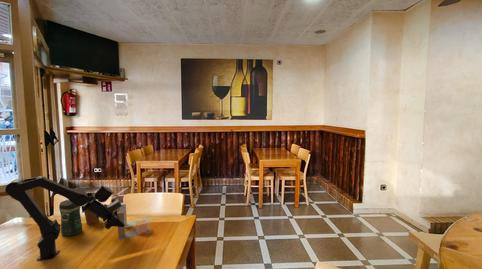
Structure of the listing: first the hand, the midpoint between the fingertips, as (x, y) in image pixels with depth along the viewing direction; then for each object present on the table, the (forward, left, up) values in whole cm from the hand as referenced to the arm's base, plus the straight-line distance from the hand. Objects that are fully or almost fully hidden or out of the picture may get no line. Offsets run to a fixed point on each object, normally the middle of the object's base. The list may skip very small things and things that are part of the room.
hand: (123, 224), depth 129 cm
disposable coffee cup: (+23, +24, -7) cm, 34 cm away
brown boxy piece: (+2, -5, -7) cm, 9 cm away
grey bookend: (+15, -2, -7) cm, 16 cm away
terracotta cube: (+3, -8, -6) cm, 10 cm away
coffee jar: (+11, +30, -7) cm, 33 cm away
